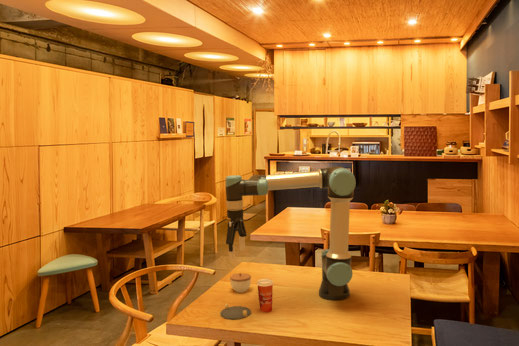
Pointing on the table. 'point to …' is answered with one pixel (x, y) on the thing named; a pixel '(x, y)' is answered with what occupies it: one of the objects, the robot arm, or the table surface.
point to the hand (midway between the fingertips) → (237, 254)
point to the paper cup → (265, 294)
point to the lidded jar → (240, 282)
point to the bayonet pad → (235, 312)
